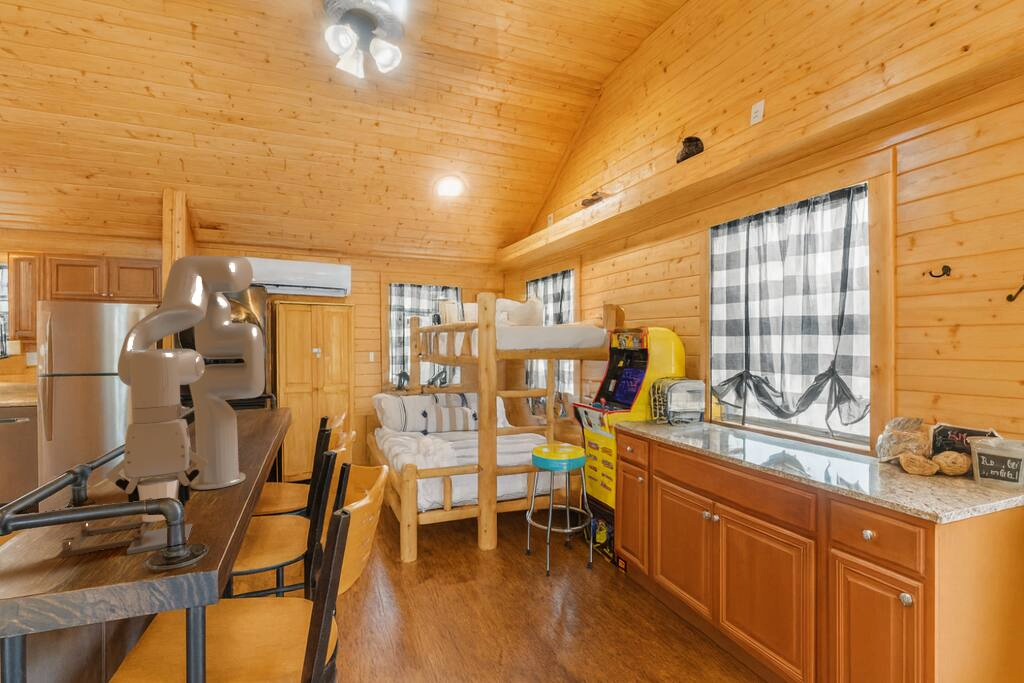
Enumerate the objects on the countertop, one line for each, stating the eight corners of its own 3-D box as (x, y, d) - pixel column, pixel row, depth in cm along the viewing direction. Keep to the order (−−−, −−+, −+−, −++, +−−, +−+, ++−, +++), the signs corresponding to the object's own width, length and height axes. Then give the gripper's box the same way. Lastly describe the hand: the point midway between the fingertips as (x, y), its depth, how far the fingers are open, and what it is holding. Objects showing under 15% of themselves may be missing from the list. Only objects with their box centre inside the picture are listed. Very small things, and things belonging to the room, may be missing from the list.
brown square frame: (82, 535, 97) (81, 522, 97) (152, 523, 102) (152, 511, 102) (61, 557, 87) (61, 543, 87) (141, 543, 92) (140, 530, 92)
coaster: (137, 536, 95) (137, 532, 95) (192, 527, 100) (192, 523, 100) (127, 554, 87) (126, 550, 87) (187, 543, 92) (186, 539, 92)
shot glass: (140, 514, 94) (138, 478, 94) (182, 507, 98) (181, 472, 98) (136, 526, 89) (134, 487, 88) (181, 517, 92) (180, 480, 92)
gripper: (211, 408, 100) (215, 495, 101) (104, 417, 92) (108, 511, 93) (208, 413, 94) (212, 506, 94) (92, 423, 86) (96, 524, 86)
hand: (160, 507), depth 93 cm, fingers closed on shot glass, 6 cm apart
